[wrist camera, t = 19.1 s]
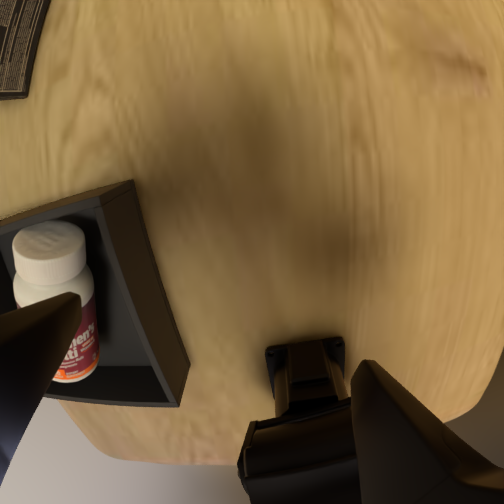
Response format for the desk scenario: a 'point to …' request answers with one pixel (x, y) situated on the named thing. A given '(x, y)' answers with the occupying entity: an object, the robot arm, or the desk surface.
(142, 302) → the bin
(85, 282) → the pill bottle
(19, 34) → the small box
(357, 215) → the desk surface
